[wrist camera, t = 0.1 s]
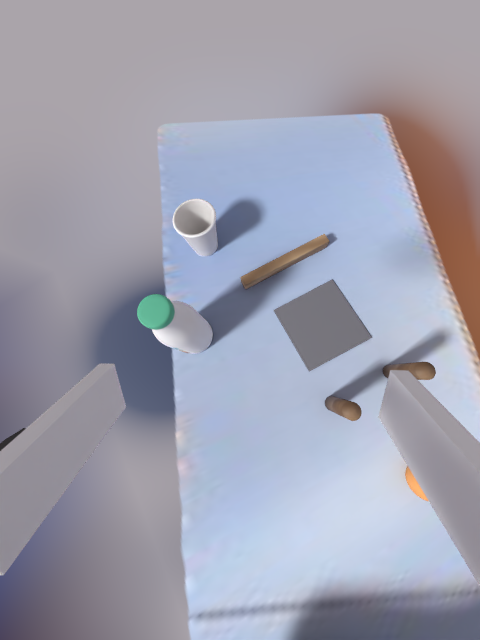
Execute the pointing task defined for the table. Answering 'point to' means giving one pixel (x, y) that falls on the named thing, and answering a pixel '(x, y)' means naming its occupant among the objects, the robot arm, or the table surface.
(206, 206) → the dixie cup
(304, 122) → the table surface
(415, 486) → the ball
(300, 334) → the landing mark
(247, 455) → the table surface
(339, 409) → the post
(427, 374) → the post
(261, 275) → the wall
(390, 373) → the robot arm
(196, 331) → the milk bottle
